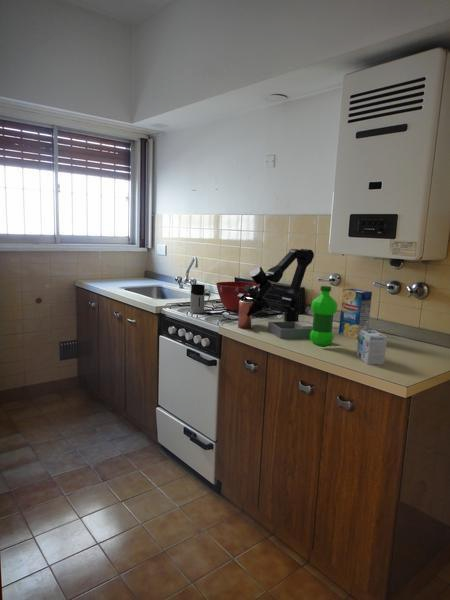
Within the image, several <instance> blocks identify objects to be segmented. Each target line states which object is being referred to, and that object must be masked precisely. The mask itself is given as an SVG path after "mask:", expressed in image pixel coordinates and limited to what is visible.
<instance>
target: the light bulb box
mask: <svg viewBox="0 0 450 600" xmlns="http://www.w3.org/2000/svg"><path fill="white" fill-rule="evenodd" d="M387 340H388V336H387V335H385V334H383V333H381V332H379V331H378V330H376V329H368V330H359V337H358V340H357V348H356V357H357V358H359V360H361V361H362V362H364V364H365V365H375V364H378V365H379V366H381V365H383V366H384V365H385V358H386V351H387V342H388V341H387Z"/></svg>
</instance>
